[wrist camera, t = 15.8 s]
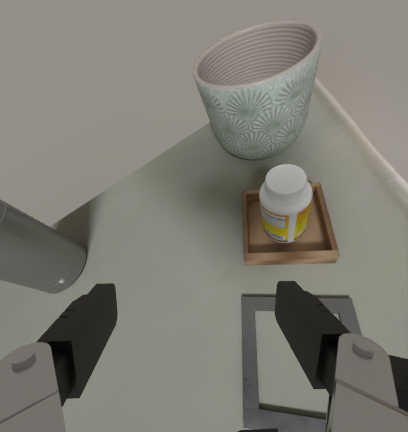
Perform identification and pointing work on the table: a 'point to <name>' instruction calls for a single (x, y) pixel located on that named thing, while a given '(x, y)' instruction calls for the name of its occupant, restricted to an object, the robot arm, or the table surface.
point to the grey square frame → (253, 416)
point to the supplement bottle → (285, 203)
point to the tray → (293, 251)
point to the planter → (260, 86)
